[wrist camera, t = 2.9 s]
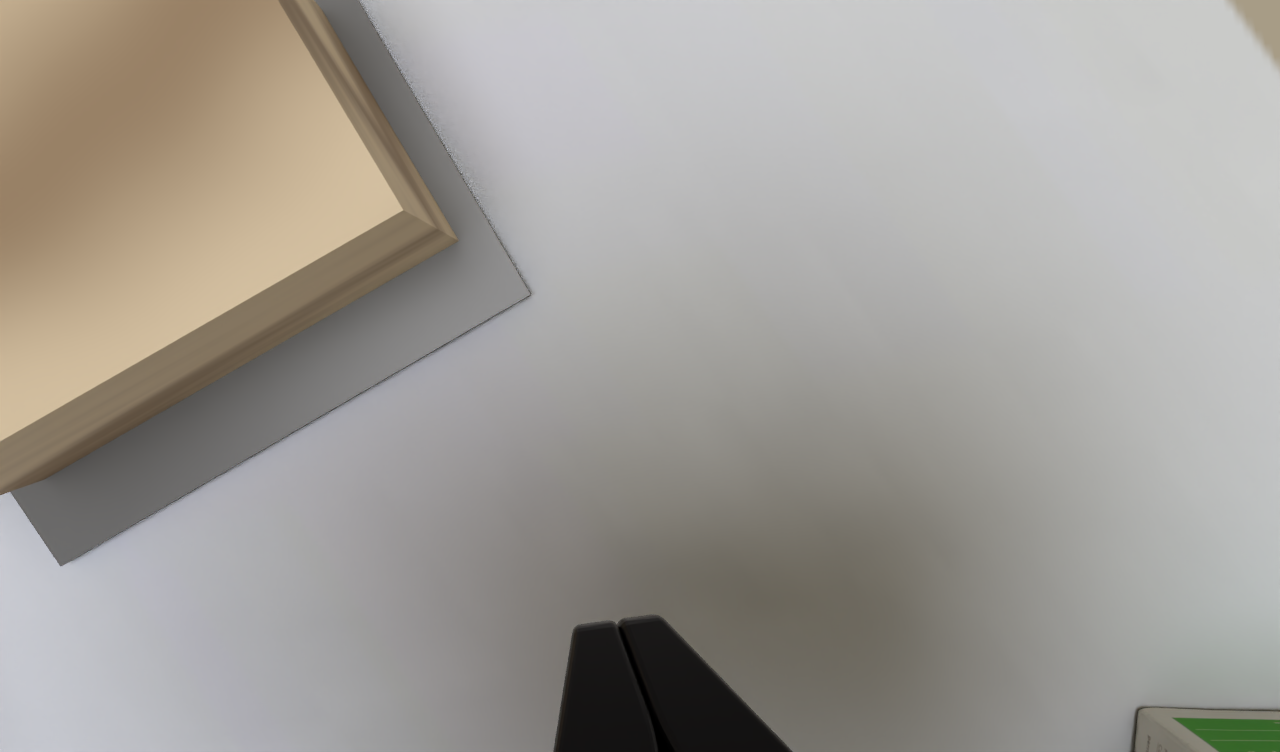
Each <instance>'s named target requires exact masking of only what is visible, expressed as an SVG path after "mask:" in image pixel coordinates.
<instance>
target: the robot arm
mask: <svg viewBox="0 0 1280 752" xmlns="http://www.w3.org/2000/svg"><path fill="white" fill-rule="evenodd" d="M553 752H793V751H792V750H791V749H790V748H789V747H788V746H787V745H786V744H785V743H784V742H783V741H782V740H781V739H780V738H779V737H778V736H777V735H776V734H775V733H774V732H773V731H772V730H771V729H770V728H769V727H768V726H767V725H766V724H765V723H764V722H763V721H762V719H761V718H760V717H759V716H758V715H757V714H756V713H755V712H754V711H753V710H752V709H751V708H750V707H749V706H748V705H747V704H746V703H745V702H744V701H743V700H742V699H741V698H740V697H739V696H738V695H737V694H736V693H735V692H734V691H733V690H732V689H731V688H730V687H729V685H728V684H727V683H726V682H725V681H724V680H723V679H722V678H721V677H720V676H719V675H718V674H717V673H716V672H715V671H714V670H713V669H712V668H711V667H710V666H709V665H708V664H707V663H706V662H705V661H704V660H703V659H702V658H701V657H700V656H699V655H698V654H697V653H696V651H695V650H694V649H693V648H692V647H691V646H690V645H689V644H688V643H687V642H686V641H685V640H684V639H683V638H682V637H681V636H680V635H679V634H678V633H677V632H676V631H675V630H674V629H673V628H672V627H671V626H670V625H669V624H668V623H667V622H666V621H665V620H664V619H663V618H662V617H660V616H658V615H645V616H638V617H631V618H624V619H622V620H620V621H619V622H618V624H617V625H616V624H615V622H613V621H601V622H594V623H586V624H580V625H577V626H576V627H575V628H574V629H573V633H572V638H571V645H570V651H569V657H568V663H567V670H566V676H565V682H564V688H563V695H562V701H561V707H560V713H559V720H558V726H557V732H556V738H555V745H554V751H553Z"/></svg>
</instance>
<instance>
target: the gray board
mask: <svg viewBox="0 0 1280 752" xmlns="http://www.w3.org/2000/svg"><path fill="white" fill-rule="evenodd" d="M314 1H315V2H316V3H317V4H318V6H319V7H320V8H321V9H322V11H323V13H324V14H325V16H326V18H327V19H328V21H329V23H330V24H331V26H332V28H333V29H334V31H335V33H336V34H337V36H338V38H339V40H340V41H341V43H342V45H343V46H344V48H345V50H346V51H347V53H348V55H349V56H350V58H351V60H352V61H353V63H354V65H355V67H356V68H357V70H358V72H359V73H360V75H361V77H362V78H363V80H364V82H365V83H366V85H367V87H368V88H369V90H370V92H371V94H372V95H373V97H374V99H375V100H376V102H377V104H378V105H379V107H380V109H381V110H382V112H383V114H384V115H385V117H386V119H387V120H388V122H389V124H390V126H391V127H392V129H393V131H394V132H395V134H396V136H397V137H398V139H399V141H400V142H401V144H402V146H403V147H404V149H405V151H406V153H407V154H408V156H409V158H410V159H411V161H412V163H413V164H414V166H415V168H416V169H417V171H418V173H419V174H420V176H421V178H422V179H423V181H424V183H425V185H426V186H427V188H428V190H429V191H430V193H431V195H432V196H433V198H434V200H435V201H436V203H437V205H438V206H439V208H440V210H441V212H442V213H443V215H444V217H445V218H446V220H447V222H448V223H449V225H450V227H451V228H452V230H453V232H454V233H455V235H456V237H457V239H458V240H459V241H458V242H456V243H454V244H452V245H451V246H449V247H447V248H446V249H444V250H442V251H440V252H439V253H437V254H435V255H433V256H432V257H430V258H428V259H426V260H425V261H423V262H421V263H419V264H418V265H416V266H414V267H413V268H411V269H409V270H407V271H406V272H404V273H402V274H400V275H399V276H397V277H395V278H393V279H392V280H390V281H388V282H387V283H385V284H383V285H381V286H380V287H378V288H376V289H374V290H373V291H371V292H369V293H367V294H366V295H364V296H362V297H360V298H359V299H357V300H355V301H354V302H352V303H350V304H348V305H347V306H345V307H343V308H341V309H340V310H338V311H336V312H334V313H333V314H331V315H329V316H327V317H326V318H324V319H322V320H321V321H319V322H317V323H315V324H314V325H312V326H310V327H308V328H307V329H305V330H303V331H301V332H300V333H298V334H296V335H294V336H293V337H291V338H289V339H288V340H286V341H284V342H282V343H281V344H279V345H277V346H275V347H274V348H272V349H270V350H268V351H267V352H265V353H263V354H261V355H260V356H258V357H256V358H255V359H253V360H251V361H249V362H248V363H246V364H244V365H242V366H241V367H239V368H237V369H235V370H234V371H232V372H230V373H228V374H227V375H225V376H223V377H222V378H220V379H218V380H216V381H215V382H213V383H211V384H209V385H208V386H206V387H204V388H202V389H201V390H199V391H197V392H195V393H194V394H192V395H190V396H189V397H187V398H185V399H183V400H182V401H180V402H178V403H176V404H175V405H173V406H171V407H169V408H168V409H166V410H164V411H162V412H161V413H159V414H157V415H156V416H154V417H152V418H150V419H149V420H147V421H145V422H143V423H142V424H140V425H138V426H136V427H135V428H133V429H131V430H129V431H128V432H126V433H124V434H123V435H121V436H119V437H117V438H116V439H114V440H112V441H110V442H109V443H107V444H105V445H103V446H102V447H100V448H98V449H96V450H95V451H93V452H91V453H90V454H88V455H86V456H84V457H83V458H81V459H79V460H77V461H76V462H74V463H72V464H70V465H69V466H67V467H65V468H64V469H62V470H60V471H58V472H57V473H55V474H53V475H51V476H50V477H48V478H46V479H44V480H42V481H39V482H36V483H33V484H30V485H27V486H25V487H22V488H19V489H16V490H13V491H10V492H11V494H12V495H13V496H14V498H15V499H16V501H17V502H18V504H19V505H20V507H21V508H22V510H23V511H24V513H25V514H26V516H27V517H28V519H29V520H30V522H31V523H32V525H33V526H34V528H35V529H36V531H37V532H38V534H39V535H40V537H41V538H42V540H43V541H44V543H45V544H46V546H47V547H48V549H49V550H50V551H51V553H52V554H53V556H54V557H55V559H56V560H57V562H58V563H59V565H60V566H62V565H64V564H66V563H68V562H70V561H72V560H73V559H75V558H77V557H79V556H80V555H82V554H84V553H85V552H87V551H89V550H91V549H92V548H94V547H96V546H98V545H99V544H101V543H103V542H104V541H106V540H108V539H110V538H111V537H113V536H115V535H117V534H118V533H120V532H122V531H123V530H125V529H127V528H129V527H130V526H132V525H134V524H135V523H137V522H139V521H141V520H142V519H144V518H146V517H148V516H149V515H151V514H153V513H154V512H156V511H158V510H160V509H161V508H163V507H165V506H167V505H168V504H170V503H172V502H173V501H175V500H177V499H179V498H180V497H182V496H184V495H186V494H187V493H189V492H191V491H192V490H194V489H196V488H198V487H199V486H201V485H203V484H205V483H206V482H208V481H210V480H211V479H213V478H215V477H217V476H218V475H220V474H222V473H224V472H225V471H227V470H229V469H230V468H232V467H234V466H236V465H237V464H239V463H241V462H243V461H244V460H246V459H248V458H249V457H251V456H253V455H255V454H256V453H258V452H260V451H262V450H263V449H265V448H267V447H268V446H270V445H272V444H274V443H275V442H277V441H279V440H281V439H282V438H284V437H286V436H287V435H289V434H291V433H293V432H294V431H296V430H298V429H300V428H301V427H303V426H305V425H306V424H308V423H310V422H312V421H313V420H315V419H317V418H319V417H320V416H322V415H324V414H325V413H327V412H329V411H331V410H332V409H334V408H336V407H338V406H339V405H341V404H343V403H344V402H346V401H348V400H350V399H351V398H353V397H355V396H357V395H358V394H360V393H362V392H363V391H365V390H367V389H369V388H370V387H372V386H374V385H376V384H377V383H379V382H381V381H382V380H384V379H386V378H388V377H389V376H391V375H393V374H395V373H396V372H398V371H400V370H401V369H403V368H405V367H407V366H408V365H410V364H412V363H413V362H415V361H417V360H419V359H420V358H422V357H424V356H426V355H427V354H429V353H431V352H432V351H434V350H436V349H438V348H439V347H441V346H443V345H445V344H446V343H448V342H450V341H451V340H453V339H455V338H457V337H458V336H460V335H462V334H464V333H465V332H467V331H469V330H470V329H472V328H474V327H476V326H477V325H479V324H481V323H483V322H484V321H486V320H488V319H489V318H491V317H493V316H495V315H496V314H498V313H500V312H502V311H503V310H505V309H507V308H508V307H510V306H512V305H514V304H515V303H517V302H519V301H521V300H522V299H524V298H526V297H527V296H529V295H531V294H530V292H529V290H528V288H527V287H526V285H525V283H524V282H523V280H522V278H521V277H520V275H519V273H518V271H517V270H516V268H515V266H514V265H513V263H512V261H511V260H510V258H509V256H508V254H507V253H506V251H505V249H504V248H503V246H502V244H501V243H500V241H499V239H498V237H497V236H496V234H495V232H494V231H493V229H492V227H491V226H490V224H489V222H488V220H487V219H486V217H485V215H484V214H483V212H482V210H481V209H480V207H479V205H478V203H477V202H476V200H475V198H474V197H473V195H472V193H471V192H470V190H469V188H468V186H467V185H466V183H465V181H464V180H463V178H462V176H461V174H460V173H459V171H458V169H457V168H456V166H455V164H454V163H453V161H452V159H451V157H450V156H449V154H448V152H447V151H446V149H445V147H444V146H443V144H442V142H441V140H440V139H439V137H438V135H437V134H436V132H435V130H434V129H433V127H432V125H431V123H430V122H429V120H428V118H427V117H426V115H425V113H424V112H423V110H422V108H421V106H420V105H419V103H418V101H417V100H416V98H415V96H414V95H413V93H412V91H411V89H410V88H409V86H408V84H407V83H406V81H405V79H404V78H403V76H402V74H401V72H400V71H399V69H398V67H397V66H396V64H395V62H394V61H393V59H392V57H391V55H390V54H389V52H388V50H387V49H386V47H385V45H384V44H383V42H382V40H381V38H380V37H379V35H378V33H377V32H376V30H375V28H374V27H373V25H372V23H371V21H370V20H369V18H368V16H367V15H366V13H365V11H364V9H363V8H362V6H361V4H360V3H359V1H358V0H314Z"/></svg>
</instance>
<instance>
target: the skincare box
mask: <svg viewBox="0 0 1280 752" xmlns="http://www.w3.org/2000/svg"><path fill="white" fill-rule="evenodd" d="M1134 752H1280V711H1228V710H1198V709H1176V708H1150V707H1149V708H1143V709H1141V710H1139V712H1138V719H1137V730H1136V740H1135V750H1134Z"/></svg>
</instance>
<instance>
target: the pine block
mask: <svg viewBox="0 0 1280 752" xmlns="http://www.w3.org/2000/svg"><path fill="white" fill-rule="evenodd" d="M458 241H459V240H458V239H457V237H456V235H455V233H454V232H453V230H452V228H451V227H450V225H449V223H448V222H447V220H446V218H445V217H444V215H443V213H442V212H441V210H440V208H439V206H438V205H437V203H436V201H435V200H434V198H433V196H432V195H431V193H430V191H429V190H428V188H427V186H426V185H425V183H424V181H423V179H422V178H421V176H420V174H419V173H418V171H417V169H416V168H415V166H414V164H413V163H412V161H411V159H410V158H409V156H408V154H407V153H406V151H405V149H404V147H403V146H402V144H401V142H400V141H399V139H398V137H397V136H396V134H395V132H394V131H393V129H392V127H391V126H390V124H389V122H388V120H387V119H386V117H385V115H384V114H383V112H382V110H381V109H380V107H379V105H378V104H377V102H376V100H375V99H374V97H373V95H372V94H371V92H370V90H369V88H368V87H367V85H366V83H365V82H364V80H363V78H362V77H361V75H360V73H359V72H358V70H357V68H356V67H355V65H354V63H353V61H352V60H351V58H350V56H349V55H348V53H347V51H346V50H345V48H344V46H343V45H342V43H341V41H340V40H339V38H338V36H337V34H336V33H335V31H334V29H333V28H332V26H331V24H330V23H329V21H328V19H327V18H326V16H325V14H324V13H323V11H322V9H321V8H320V7H319V6H318V4H317V3H316V2H315V1H314V0H0V495H2V494H5V493H7V492H10V491H13V490H16V489H19V488H22V487H25V486H27V485H30V484H33V483H36V482H39V481H42V480H44V479H46V478H48V477H50V476H51V475H53V474H55V473H57V472H58V471H60V470H62V469H64V468H65V467H67V466H69V465H70V464H72V463H74V462H76V461H77V460H79V459H81V458H83V457H84V456H86V455H88V454H90V453H91V452H93V451H95V450H96V449H98V448H100V447H102V446H103V445H105V444H107V443H109V442H110V441H112V440H114V439H116V438H117V437H119V436H121V435H123V434H124V433H126V432H128V431H129V430H131V429H133V428H135V427H136V426H138V425H140V424H142V423H143V422H145V421H147V420H149V419H150V418H152V417H154V416H156V415H157V414H159V413H161V412H162V411H164V410H166V409H168V408H169V407H171V406H173V405H175V404H176V403H178V402H180V401H182V400H183V399H185V398H187V397H189V396H190V395H192V394H194V393H195V392H197V391H199V390H201V389H202V388H204V387H206V386H208V385H209V384H211V383H213V382H215V381H216V380H218V379H220V378H222V377H223V376H225V375H227V374H228V373H230V372H232V371H234V370H235V369H237V368H239V367H241V366H242V365H244V364H246V363H248V362H249V361H251V360H253V359H255V358H256V357H258V356H260V355H261V354H263V353H265V352H267V351H268V350H270V349H272V348H274V347H275V346H277V345H279V344H281V343H282V342H284V341H286V340H288V339H289V338H291V337H293V336H294V335H296V334H298V333H300V332H301V331H303V330H305V329H307V328H308V327H310V326H312V325H314V324H315V323H317V322H319V321H321V320H322V319H324V318H326V317H327V316H329V315H331V314H333V313H334V312H336V311H338V310H340V309H341V308H343V307H345V306H347V305H348V304H350V303H352V302H354V301H355V300H357V299H359V298H360V297H362V296H364V295H366V294H367V293H369V292H371V291H373V290H374V289H376V288H378V287H380V286H381V285H383V284H385V283H387V282H388V281H390V280H392V279H393V278H395V277H397V276H399V275H400V274H402V273H404V272H406V271H407V270H409V269H411V268H413V267H414V266H416V265H418V264H419V263H421V262H423V261H425V260H426V259H428V258H430V257H432V256H433V255H435V254H437V253H439V252H440V251H442V250H444V249H446V248H447V247H449V246H451V245H452V244H454V243H456V242H458Z"/></svg>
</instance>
